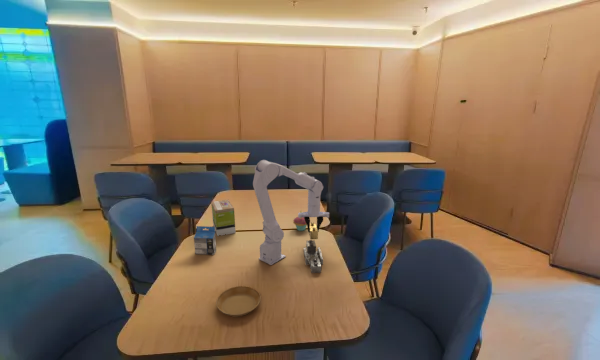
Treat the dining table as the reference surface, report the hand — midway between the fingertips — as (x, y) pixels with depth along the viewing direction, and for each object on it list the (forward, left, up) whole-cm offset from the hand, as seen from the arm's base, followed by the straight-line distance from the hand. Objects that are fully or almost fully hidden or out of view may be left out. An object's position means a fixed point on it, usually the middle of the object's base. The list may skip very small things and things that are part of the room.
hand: (313, 231), depth 134 cm
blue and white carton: (-36, +35, -9) cm, 51 cm away
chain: (-8, -6, -8) cm, 13 cm away
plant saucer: (-49, -5, -9) cm, 51 cm away
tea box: (-15, +50, -9) cm, 53 cm away
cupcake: (+13, +18, -9) cm, 23 cm away
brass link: (0, 0, -2) cm, 2 cm away
